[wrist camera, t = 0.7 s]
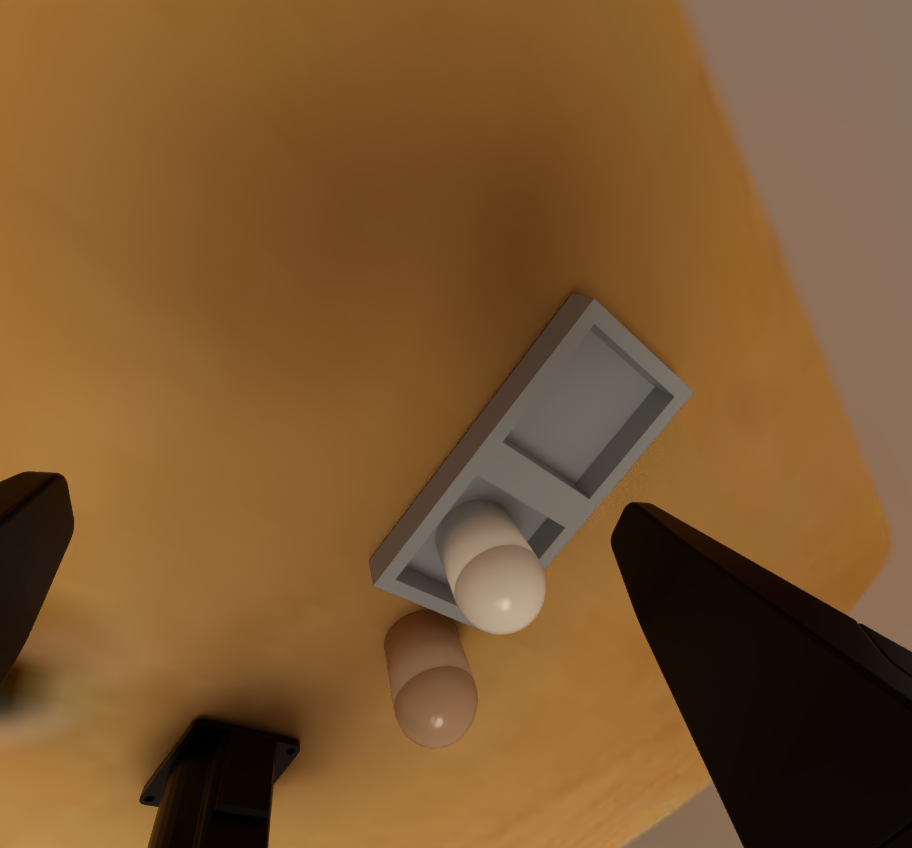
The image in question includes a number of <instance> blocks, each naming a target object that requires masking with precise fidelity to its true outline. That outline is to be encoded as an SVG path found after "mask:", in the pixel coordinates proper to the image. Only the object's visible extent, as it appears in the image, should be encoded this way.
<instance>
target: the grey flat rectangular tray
mask: <svg viewBox="0 0 912 848" xmlns="http://www.w3.org/2000/svg"><path fill="white" fill-rule="evenodd" d="M693 393H694V392H693V391H692V390H691V389H690V388H689V387H688V386H687V385H686V384H685V383H683V382H682V381H681V380H680V379H679V378H678V377H677V376H676V375H675V374H674V373H673V372H672V371H671V370H670V369H669V368H668V367H667V366H665V365H664V364H663V363H662V362H661V361H660V360H659V359H658V358H657V357H656V356H655V355H654V354H653V353H652V352H651V351H650V350H649V349H647V348H646V347H645V346H644V345H643V344H642V343H641V342H640V341H639V340H638V339H637V338H636V337H635V336H634V335H633V334H632V333H631V332H630V331H628V330H627V329H626V328H625V327H624V326H623V325H622V324H621V323H620V322H619V321H618V320H617V319H616V318H615V317H614V316H613V315H612V314H610V313H609V312H608V311H607V310H606V309H605V308H604V307H603V306H602V305H601V304H600V303H599V302H598V301H597V300H596V299H595V298H591V297H587V296H583V295H580V294H576V293H572V294H571V296H570V297H569V298H568V300H567V301H566V302H565V304H564V305H563V306H562V307H561V309H560V310H559V311H558V313H557V314H556V315H555V317H554V318H553V319H552V321H551V322H550V323H549V325H548V326H547V327H546V329H545V330H544V331H543V332H542V334H541V335H540V336H539V338H538V339H537V340H536V342H535V343H534V344H533V346H532V347H531V348H530V350H529V351H528V352H527V354H526V355H525V356H524V357H523V359H522V360H521V361H520V363H519V364H518V365H517V367H516V368H515V369H514V371H513V372H512V373H511V375H510V376H509V377H508V379H507V380H506V381H505V382H504V384H503V385H502V386H501V388H500V389H499V390H498V392H497V393H496V394H495V396H494V397H493V398H492V400H491V401H490V402H489V404H488V405H487V406H486V407H485V409H484V410H483V411H482V413H481V414H480V415H479V417H478V418H477V419H476V421H475V422H474V423H473V425H472V426H471V427H470V429H469V430H468V431H467V432H466V434H465V435H464V436H463V438H462V439H461V440H460V442H459V443H458V444H457V446H456V447H455V448H454V450H453V451H452V452H451V454H450V455H449V456H448V457H447V459H446V460H445V461H444V463H443V464H442V465H441V467H440V468H439V469H438V471H437V472H436V473H435V475H434V476H433V477H432V479H431V480H430V481H429V483H428V484H427V485H426V486H425V488H424V489H423V490H422V492H421V493H420V494H419V496H418V497H417V498H416V500H415V501H414V502H413V504H412V505H411V506H410V508H409V509H408V510H407V511H406V513H405V514H404V515H403V517H402V518H401V519H400V521H399V522H398V523H397V525H396V526H395V527H394V529H393V530H392V531H391V533H390V534H389V535H388V536H387V538H386V539H385V540H384V542H383V543H382V544H381V546H380V547H379V548H378V550H377V551H376V552H375V554H374V555H373V556H372V558H371V559H370V560H369V563H370V569H371V576H372V582H373V586H374V587H377V588H379V589H382V590H384V591H387V592H389V593H391V594H394V595H396V596H399V597H401V598H404V599H406V600H408V601H411V602H413V603H416V604H418V605H421V606H423V607H426V608H428V609H430V610H433V611H435V612H438V613H440V614H443V615H445V616H447V617H450V618H452V619H455V620H457V621H460V622H462V623H464V624H467V625H469V626H472V627H474V628H477V627H475V626H474V625H472V624H471V623H470V622H469V621H468V620H467V619H466V618H465V617H464V615H463V614H462V613H461V611H460V610H459V608H458V605H457V603H456V601H455V598H454V595H453V593H452V590H451V587H450V585H449V582H448V579H447V576H446V574H445V571H444V568H443V566H442V563H441V560H440V557H439V555H438V552H437V549H436V545H435V536H436V532H437V529H438V527H439V525H440V523H441V521H442V520H443V519H444V517H445V516H446V515H447V514H448V513H449V512H450V511H452V510H453V509H454V508H456V507H458V506H459V505H462V504H464V503H467V502H470V501H475V500H487V501H492V502H495V503H497V504H499V505H500V506H502V507H503V508H504V509H505V510H506V511H507V513H508V514H509V516H510V517H511V519H512V520H513V522H514V523H515V525H516V526H517V528H518V529H519V531H520V532H521V534H522V535H523V537H524V538H525V540H526V541H527V543H528V544H529V546H530V547H531V549H532V550H533V552H534V553H535V555H536V556H537V558H538V559H539V561H540V563H541V565H542V567H543V570H545V569H546V568H547V567H548V565H549V564H550V563H551V562H552V561H553V559H554V558H555V557H556V556H557V555H558V553H559V552H560V551H561V550H562V549H563V548H564V546H565V545H566V544H567V543H568V542H569V540H570V539H571V538H572V537H573V536H574V534H575V533H576V532H577V531H578V530H579V528H580V527H581V526H582V525H583V524H584V523H585V521H586V520H587V519H588V518H589V517H590V515H591V514H592V513H593V512H594V511H595V509H596V508H597V507H598V506H599V505H600V504H601V502H602V501H603V500H604V499H605V498H606V496H607V495H608V494H609V493H610V492H611V490H612V489H613V488H614V487H615V486H616V484H617V483H618V482H619V481H620V480H621V479H622V477H623V476H624V475H625V474H626V473H627V471H628V470H629V469H630V468H631V467H632V465H633V464H634V463H635V462H636V461H637V459H638V458H639V457H640V456H641V455H642V454H643V452H644V451H645V450H646V449H647V448H648V446H649V445H650V444H651V443H652V442H653V440H654V439H655V438H656V437H657V436H658V434H659V433H660V432H661V431H662V430H663V429H664V427H665V426H666V425H667V424H668V423H669V421H670V420H671V419H672V418H673V417H674V415H675V414H676V413H677V412H678V411H679V410H680V408H681V407H682V406H683V405H684V404H685V402H686V401H687V400H688V399H689V398H690V396H691V395H692V394H693ZM477 629H478V628H477ZM479 630H480V629H479ZM481 631H482V630H481ZM484 632H485V631H484ZM486 633H488V632H486ZM489 634H491V633H489Z"/></svg>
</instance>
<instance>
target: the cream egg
mask: <svg viewBox="0 0 912 848" xmlns="http://www.w3.org/2000/svg"><path fill="white" fill-rule="evenodd" d="M435 545H436V549H437V552H438V555H439V557H440V560H441V563H442V566H443V568H444V571H445V574H446V576H447V579H448V582H449V585H450V587H451V590H452V593H453V595H454V598H455V601H456V603H457V605H458V608H459V610H460V611H461V613H462V614H463V615H464V617H465V618H466V619H467V620H468V621H469V622H470V623H471V624H472V625H474V626H475V627H477V628H478V629H480V630H482V631H485V632H488V633H491V634H499V635H503V634H510V633H514V632H517V631H519V630H521V629H523V628H525V627H526V626H528V625H529V624H530V623H531V622H532V621H533V620H534V619H535V618H536V617H537V615H538V614H539V612H540V610H541V608H542V606H543V604H544V600H545V596H546V578H545V573H544V570H543V567H542V565H541V563H540V561H539V559H538V558H537V556H536V555H535V553H534V552H533V550H532V549H531V547H530V546H529V544H528V543H527V541H526V540H525V538H524V537H523V535H522V534H521V532H520V531H519V529H518V528H517V526H516V525H515V523H514V522H513V520H512V519H511V517H510V516H509V514H508V513H507V511H506V510H505V509H504V508H503V507H502V506H500V505H499V504H497V503H495V502H492V501H487V500H475V501H470V502H467V503H464V504H462V505H459V506H458V507H456V508H454V509H453V510H452V511H450V512H449V513H448V514H447V515H446V516H445V517H444V519H443V520H442V521H441V523H440V525H439V527H438V529H437V532H436V536H435Z"/></svg>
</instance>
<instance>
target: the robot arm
mask: <svg viewBox="0 0 912 848" xmlns="http://www.w3.org/2000/svg"><path fill="white" fill-rule="evenodd" d="M73 530H74V516H73V511H72V506H71V500H70V495H69V489H68V484H67V481H66V479H65V477H64V476H63V475H61V474H59V473H51V472H31V471H28V472H22V473H20V474H17V475H15V476H12V477H10V478H8V479H5V480H3V481H1V482H0V687H1V685H2V683H3V682H4V680H5V678H6V677H7V675H8V673H9V671H10V670H11V668H12V666H13V664H14V663H15V661H16V659H17V657H18V655H19V654H20V652H21V650H22V648H23V646H24V644H25V643H26V640H27V638H28V636H29V634H30V632H31V630H32V628H33V625H34V623H35V621H36V619H37V616H38V614H39V612H40V609H41V607H42V605H43V602H44V600H45V598H46V596H47V593H48V591H49V589H50V586H51V584H52V582H53V579H54V577H55V575H56V572H57V570H58V568H59V565H60V563H61V561H62V559H63V556H64V554H65V552H66V549H67V547H68V545H69V542H70V540H71V537H72V534H73ZM611 547H612V550H613V553H614V555H615V558H616V561H617V564H618V567H619V569H620V572H621V575H622V578H623V581H624V583H625V586H626V589H627V592H628V594H629V597H630V600H631V603H632V606H633V608H634V611H635V614H636V616H637V619H638V621H639V624H640V626H641V628H642V630H643V633H644V635H645V637H646V639H647V641H648V643H649V646H650V648H651V650H652V652H653V654H654V656H655V658H656V661H657V663H658V665H659V667H660V669H661V671H662V673H663V676H664V678H665V680H666V682H667V684H668V686H669V688H670V691H671V693H672V695H673V697H674V699H675V701H676V703H677V706H678V708H679V710H680V712H681V714H682V716H683V718H684V721H685V723H686V725H687V727H688V729H689V731H690V733H691V736H692V738H693V740H694V742H695V744H696V746H697V748H698V751H699V753H700V755H701V757H702V759H703V761H704V763H705V766H706V768H707V770H708V772H709V774H710V776H711V778H712V781H713V783H714V785H715V787H716V789H717V791H718V793H719V795H720V797H721V800H722V802H723V804H724V806H725V808H726V810H727V813H728V815H729V817H730V819H731V821H732V823H733V826H734V828H735V830H736V832H737V834H738V836H739V838H740V840H741V843H742V845H743V847H744V848H912V652H911V651H909V650H907V649H906V648H904V647H902V646H900V645H898V644H897V643H895V642H893V641H891V640H889V639H888V638H886V637H884V636H882V635H881V634H879V633H877V632H875V631H873V630H872V629H870V628H868V627H867V626H865V625H863V624H860V623H859V624H858V623H857V622H856V621H855V620H854V619H852V618H850V617H849V616H847V615H845V614H844V613H842V612H840V611H838V610H837V609H835V608H833V607H831V606H830V605H828V604H826V603H824V602H823V601H821V600H819V599H817V598H816V597H814V596H812V595H810V594H809V593H807V592H805V591H803V590H802V589H800V588H798V587H796V586H795V585H793V584H791V583H789V582H788V581H786V580H784V579H782V578H781V577H779V576H777V575H775V574H774V573H772V572H770V571H768V570H767V569H765V568H763V567H761V566H760V565H758V564H756V563H754V562H753V561H751V560H749V559H747V558H746V557H744V556H742V555H740V554H739V553H737V552H735V551H733V550H732V549H730V548H728V547H726V546H725V545H723V544H721V543H719V542H718V541H716V540H714V539H712V538H711V537H709V536H707V535H705V534H704V533H702V532H700V531H698V530H697V529H695V528H693V527H691V526H690V525H688V524H686V523H684V522H683V521H681V520H679V519H677V518H676V517H674V516H672V515H670V514H669V513H667V512H665V511H663V510H662V509H660V508H658V507H656V506H655V505H653V504H650V503H642V502H631V503H629V504H628V505H626V506H625V508H624V510H623V512H622V514H621V516H620V518H619V520H618V522H617V524H616V526H615V528H614V531H613V533H612V536H611ZM299 751H300V742H299V741H298V740H296V739H293V738H288V737H284V736H279V735H275V734H271V733H266V732H262V731H257V730H253V729H249V728H244V727H240V726H235V725H231V724H227V723H222V722H218V721H213V720H209V719H203V718H201V719H197V720H195V721H193V722H192V723H191V725H190V726H189V728H188V729H187V730H186V732H185V733H184V734H183V736H182V737H181V738H180V740H179V741H178V743H177V744H176V745H175V747H174V748H173V749H172V751H171V752H170V753H169V755H168V756H167V758H166V759H165V760H164V762H163V763H162V764H161V766H160V767H159V768H158V770H157V771H156V773H155V774H154V775H153V777H152V778H151V779H150V781H149V782H148V783H147V785H146V786H145V788H144V789H143V790H142V793H141V796H140V799H139V801H140V803H141V804H144V805H149V806H156V807H159V808H158V811H157V815H156V819H155V822H154V826H153V830H152V833H151V837H150V841H149V844H148V848H268V843H269V831H270V818H271V807H272V795H273V785H274V783H275V782H276V781H277V779H278V778H279V777H280V776H281V774H282V773H283V772H284V771H285V769H286V768H287V767H288V766H289V764H290V763H291V762H292V761H293V759H294V758H295V757H296V756H297V754H298V753H299Z"/></svg>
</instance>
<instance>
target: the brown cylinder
mask: <svg viewBox="0 0 912 848" xmlns="http://www.w3.org/2000/svg"><path fill="white" fill-rule="evenodd" d="M384 649H385V655H386V661H387V668H388V674H389V680H390V686H391V693H392V699H393V705H394V712H395V716H396V719H397V721H398V724H399V726H400V728H401V729H402V731H403V732H404V733H405V735H406V736H407V737H408V738H409V739H410V740H412V741H413V742H414V743H416V744H418V745H420V746H422V747H426V748H432V749H437V748H443V747H447V746H449V745H452V744H453V743H455V742H457V741H458V740H459V739H461V738H462V737H463V736H464V734H465V733H466V732H467V731H468V729H469V728H470V726H471V724H472V722H473V720H474V717H475V714H476V710H477V702H478V696H477V688H476V684H475V681H474V678H473V675H472V672H471V669H470V666H469V663H468V660H467V658H466V655H465V652H464V649H463V646H462V643H461V640H460V637H459V634H458V632H457V629H456V626H455V623H454V621H453V620H452V619H451V618H450V617H447V616H445V615H443V614H440V613H438V612H435V611H433V610H421V611H416V612H413V613H410V614H408V615H406V616H404V617H403V618H401V619H400V620H398V621H397V622H396V623H395V624H394V625H393V626H392V627H391V628H390V630H389V631H388V633H387V635H386V637H385V641H384Z"/></svg>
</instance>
